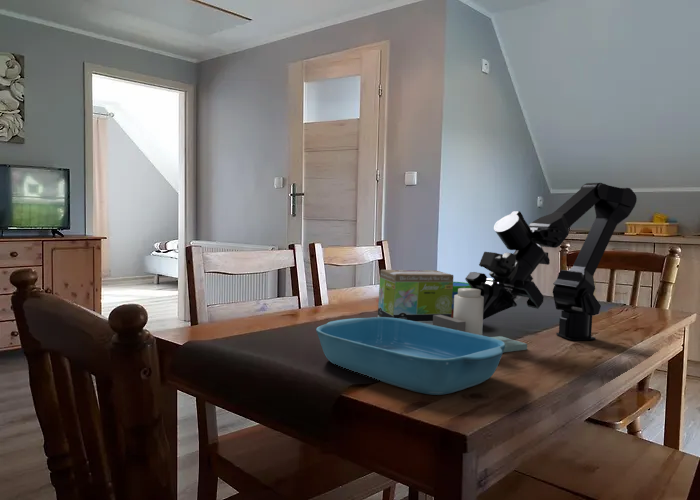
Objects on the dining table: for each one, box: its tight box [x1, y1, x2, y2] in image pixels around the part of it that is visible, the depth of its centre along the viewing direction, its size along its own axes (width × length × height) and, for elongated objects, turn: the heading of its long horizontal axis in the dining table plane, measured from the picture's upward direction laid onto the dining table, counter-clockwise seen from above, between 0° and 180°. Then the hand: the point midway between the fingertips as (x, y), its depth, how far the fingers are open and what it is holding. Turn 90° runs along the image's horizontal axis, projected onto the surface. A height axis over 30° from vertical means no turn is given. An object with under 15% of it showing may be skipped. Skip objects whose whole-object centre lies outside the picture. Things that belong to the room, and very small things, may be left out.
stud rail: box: [433, 315, 528, 353], centre depth 119 cm, size 19×8×7 cm, turn 119°
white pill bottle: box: [453, 288, 484, 335], centre depth 117 cm, size 6×6×11 cm
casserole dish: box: [315, 316, 505, 396], centre depth 101 cm, size 37×22×7 cm, turn 42°
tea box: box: [377, 269, 454, 325], centre depth 133 cm, size 15×10×15 cm
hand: (480, 318), depth 118 cm, fingers closed, pressing on white pill bottle
